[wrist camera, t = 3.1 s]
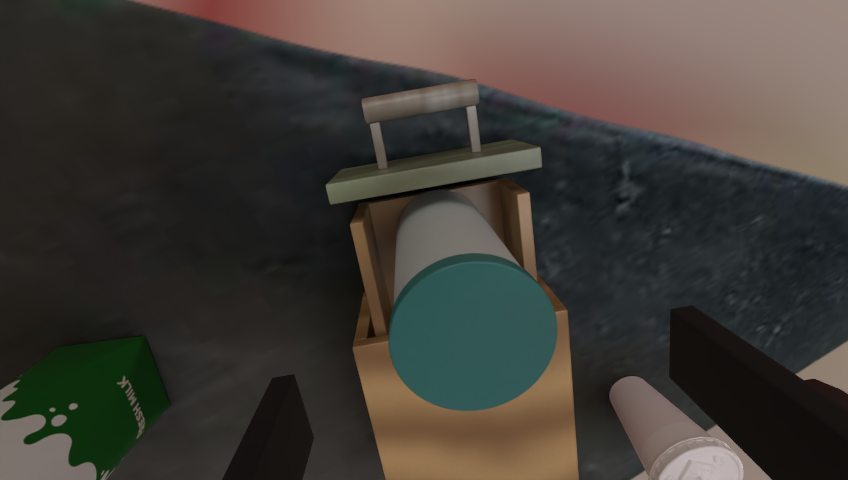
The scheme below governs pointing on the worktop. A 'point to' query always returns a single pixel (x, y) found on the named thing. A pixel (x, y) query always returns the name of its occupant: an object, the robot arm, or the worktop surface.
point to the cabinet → (470, 420)
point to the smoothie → (670, 436)
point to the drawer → (492, 198)
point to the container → (464, 309)
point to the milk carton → (79, 411)
